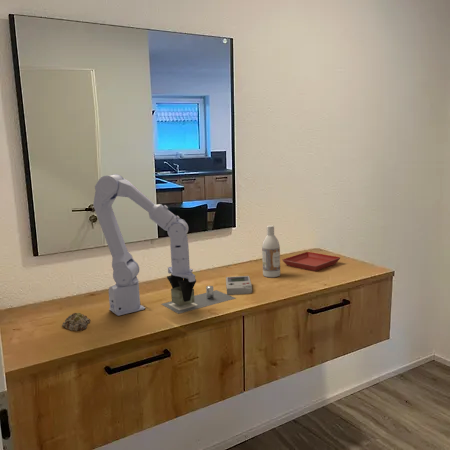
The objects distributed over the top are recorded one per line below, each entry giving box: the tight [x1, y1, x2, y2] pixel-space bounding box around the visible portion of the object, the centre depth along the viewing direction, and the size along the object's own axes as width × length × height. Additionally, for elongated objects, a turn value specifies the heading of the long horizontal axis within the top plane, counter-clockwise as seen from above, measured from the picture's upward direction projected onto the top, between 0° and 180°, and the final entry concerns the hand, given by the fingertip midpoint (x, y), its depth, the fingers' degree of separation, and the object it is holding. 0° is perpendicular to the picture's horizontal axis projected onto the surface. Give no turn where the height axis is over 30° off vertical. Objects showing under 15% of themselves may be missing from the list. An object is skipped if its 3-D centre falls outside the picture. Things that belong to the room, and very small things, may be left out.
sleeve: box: [170, 287, 195, 306], centre depth 147 cm, size 5×5×4 cm
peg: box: [205, 285, 214, 299], centre depth 153 cm, size 2×2×4 cm
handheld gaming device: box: [225, 275, 253, 296], centre depth 164 cm, size 9×15×4 cm, turn 1°
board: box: [161, 289, 237, 315], centre depth 151 cm, size 22×12×1 cm, turn 125°
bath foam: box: [261, 224, 281, 278], centre depth 180 cm, size 7×7×20 cm
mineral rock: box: [61, 312, 91, 332], centre depth 137 cm, size 11×4×8 cm
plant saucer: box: [282, 251, 341, 272], centre depth 195 cm, size 18×18×3 cm
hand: (182, 298), depth 148 cm, fingers closed on sleeve, 5 cm apart
